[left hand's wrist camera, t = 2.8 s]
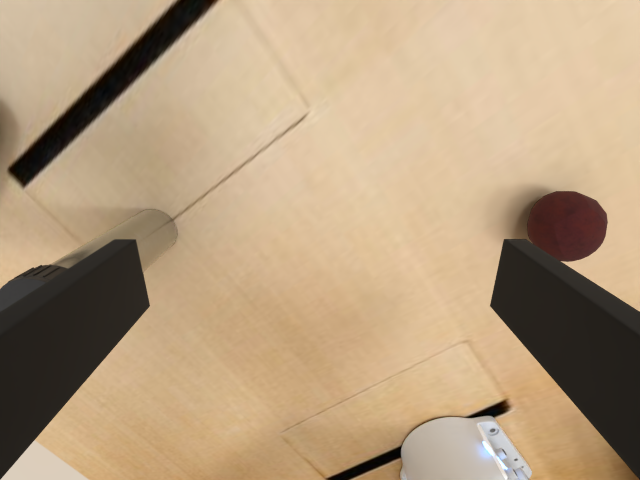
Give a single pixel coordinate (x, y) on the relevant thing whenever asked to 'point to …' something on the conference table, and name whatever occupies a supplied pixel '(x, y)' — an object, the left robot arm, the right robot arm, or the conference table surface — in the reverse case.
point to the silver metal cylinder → (146, 227)
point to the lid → (27, 283)
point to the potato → (567, 225)
